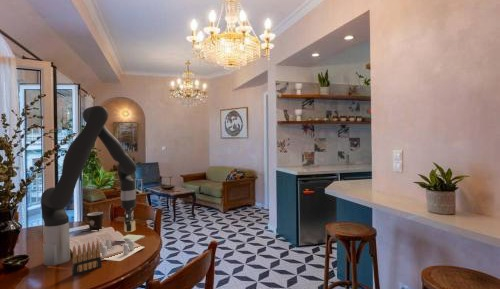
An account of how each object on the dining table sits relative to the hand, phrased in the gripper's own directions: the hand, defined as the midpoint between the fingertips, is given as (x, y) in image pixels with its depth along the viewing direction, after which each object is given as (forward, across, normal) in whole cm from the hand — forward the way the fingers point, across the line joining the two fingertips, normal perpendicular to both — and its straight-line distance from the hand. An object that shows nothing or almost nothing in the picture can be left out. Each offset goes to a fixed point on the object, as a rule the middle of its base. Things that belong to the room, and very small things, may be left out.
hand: (129, 229), depth 166 cm
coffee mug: (+6, +26, +24) cm, 36 cm away
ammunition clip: (+6, -38, +11) cm, 40 cm away
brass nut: (0, 0, 0) cm, 0 cm away
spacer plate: (+5, -19, +3) cm, 20 cm away
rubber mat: (+5, 0, 0) cm, 5 cm away
